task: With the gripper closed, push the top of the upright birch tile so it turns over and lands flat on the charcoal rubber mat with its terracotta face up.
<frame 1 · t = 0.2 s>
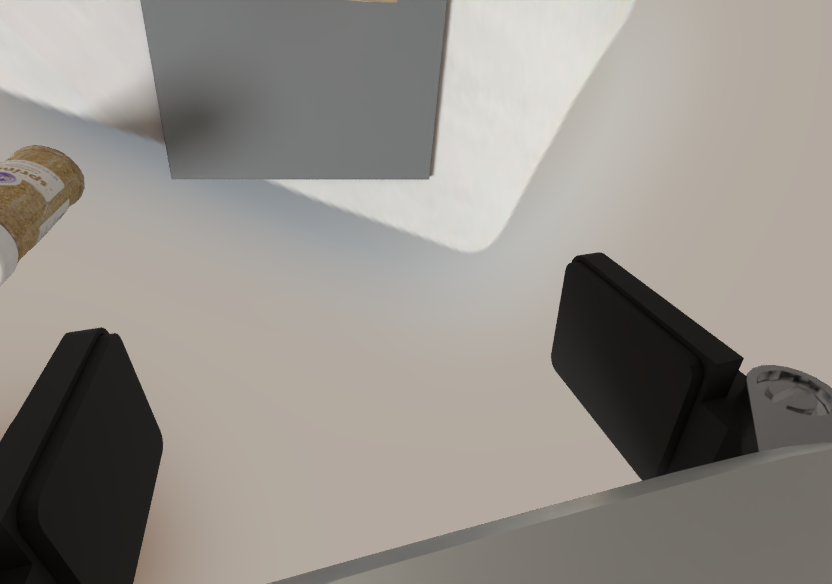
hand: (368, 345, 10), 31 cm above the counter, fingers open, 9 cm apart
rubber mat: (304, 37, 34), on the counter
sprinkles bottle: (49, 175, 34), on the counter
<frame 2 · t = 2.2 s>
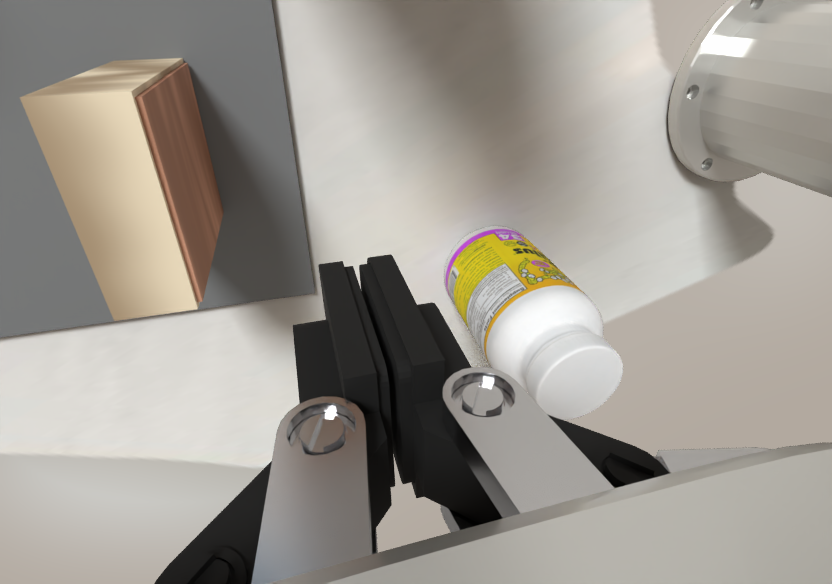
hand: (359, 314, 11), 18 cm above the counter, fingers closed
birch tile: (172, 145, 25), resting on rubber mat
supplement bottle: (484, 264, 34), on the counter
rubber mat: (89, 148, 24), on the counter
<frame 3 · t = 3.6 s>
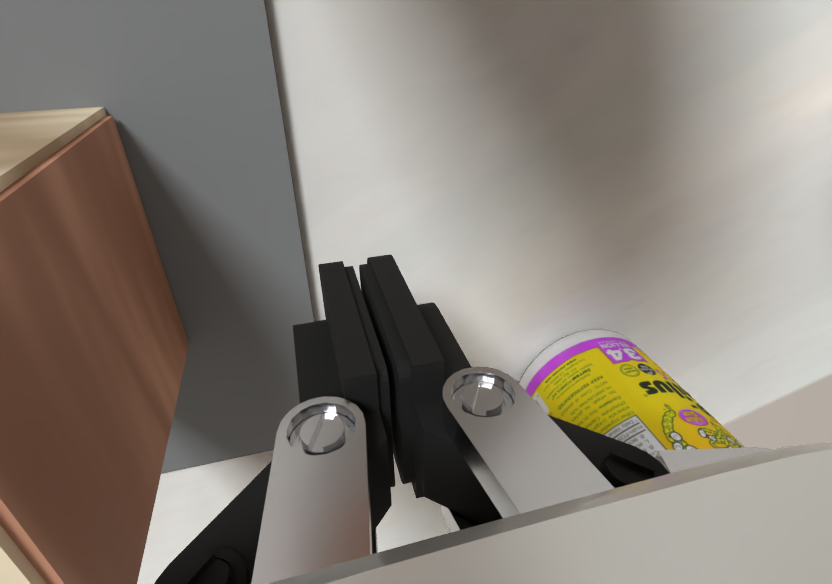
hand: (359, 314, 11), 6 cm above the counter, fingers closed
birch tile: (96, 250, 14), resting on rubber mat
supplement bottle: (569, 375, 24), on the counter
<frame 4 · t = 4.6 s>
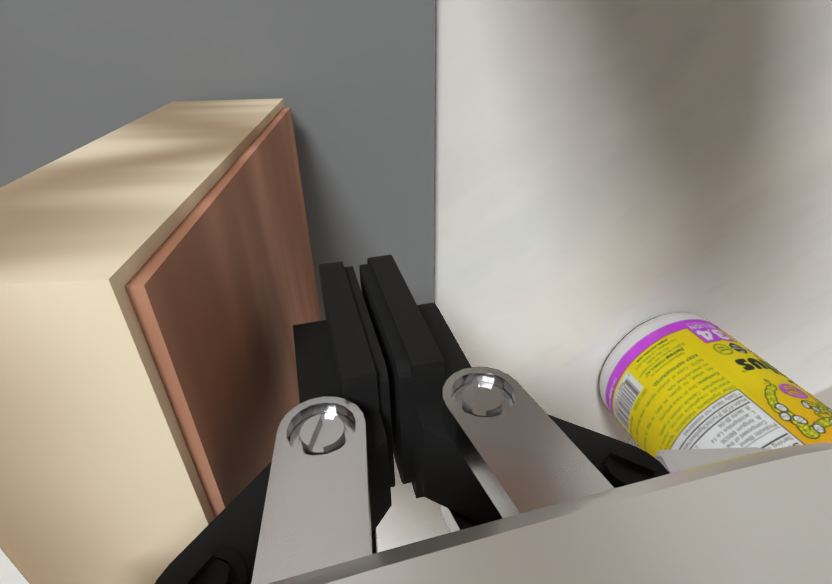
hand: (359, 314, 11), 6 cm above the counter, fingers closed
birch tile: (256, 232, 15), point 1 cm above the counter, tilted 11°, touching gripper, rubber mat
supplement bottle: (648, 357, 25), on the counter
rubber mat: (125, 238, 15), on the counter
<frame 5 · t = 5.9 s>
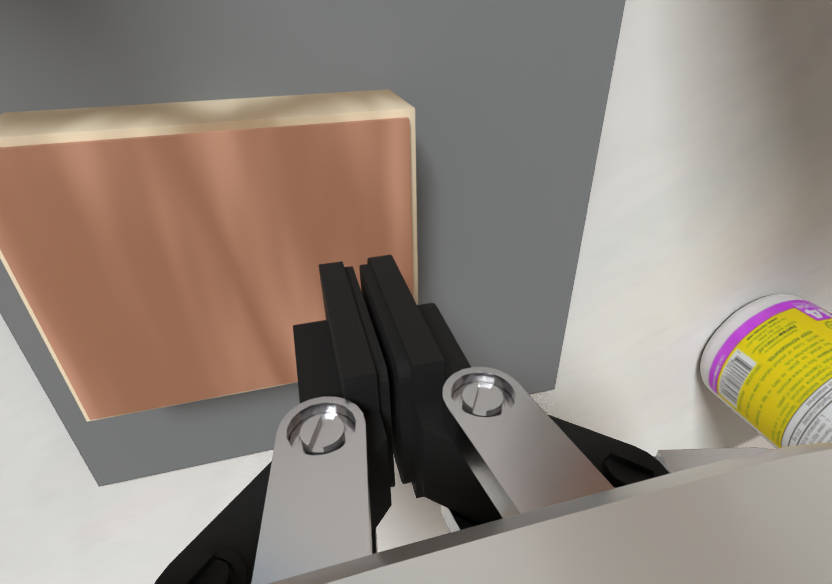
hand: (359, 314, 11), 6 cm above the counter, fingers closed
birch tile: (404, 232, 15), point 2 cm above the counter, tilted 90°, touching rubber mat
supplement bottle: (744, 338, 26), on the counter
rubber mat: (321, 217, 16), on the counter
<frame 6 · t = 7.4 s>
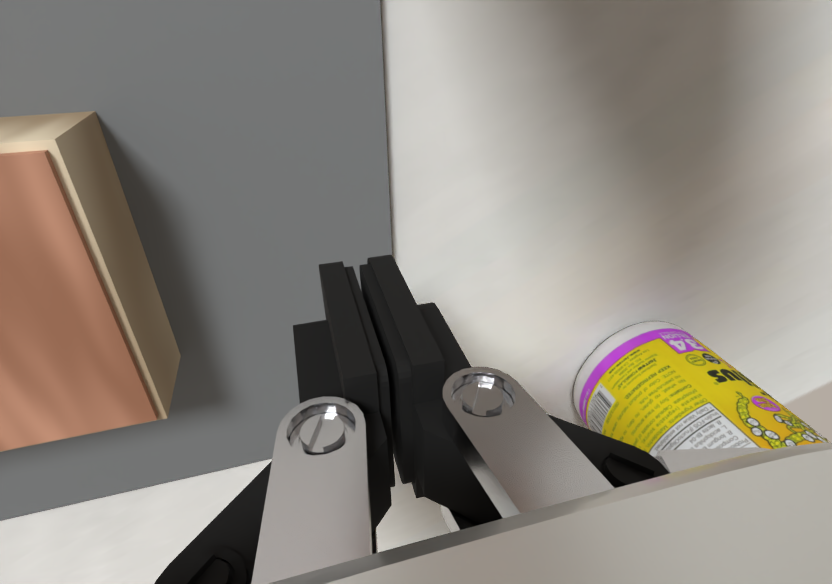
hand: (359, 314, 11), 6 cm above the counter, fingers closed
birch tile: (133, 274, 13), point 2 cm above the counter, tilted 90°, touching rubber mat
supplement bottle: (623, 366, 25), on the counter
rubber mat: (58, 255, 14), on the counter
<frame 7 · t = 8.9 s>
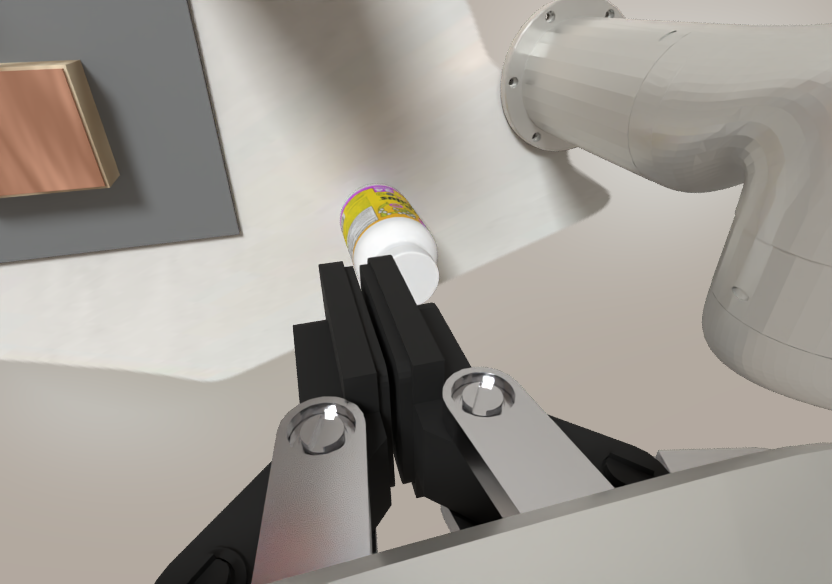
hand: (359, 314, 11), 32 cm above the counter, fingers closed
birch tile: (95, 125, 33), point 2 cm above the counter, tilted 90°, touching rubber mat
supplement bottle: (373, 214, 45), on the counter
rubber mat: (65, 121, 35), on the counter
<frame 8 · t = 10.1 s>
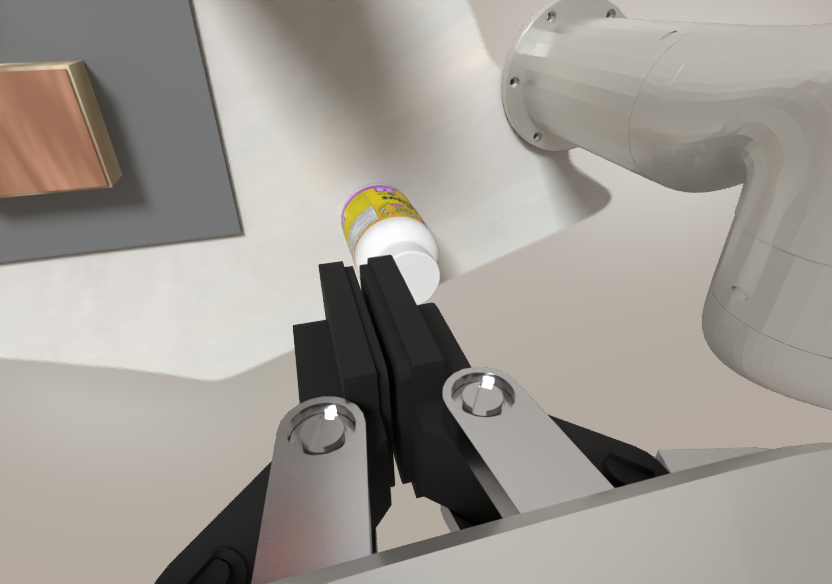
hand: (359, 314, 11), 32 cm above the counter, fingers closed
birch tile: (98, 125, 34), point 2 cm above the counter, tilted 90°, touching rubber mat
supplement bottle: (374, 214, 45), on the counter
rubber mat: (69, 121, 35), on the counter
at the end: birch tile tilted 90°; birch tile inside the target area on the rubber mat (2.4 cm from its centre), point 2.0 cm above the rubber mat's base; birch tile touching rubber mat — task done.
